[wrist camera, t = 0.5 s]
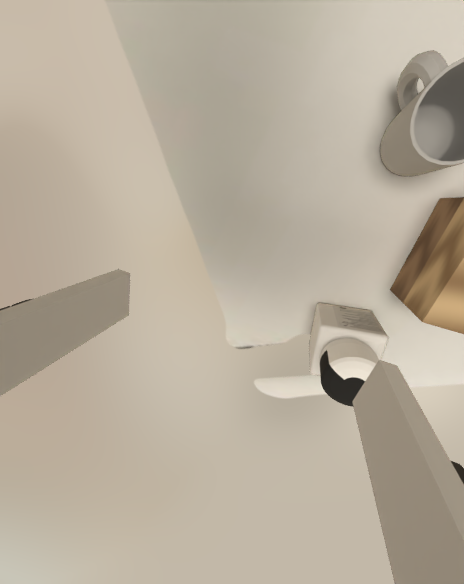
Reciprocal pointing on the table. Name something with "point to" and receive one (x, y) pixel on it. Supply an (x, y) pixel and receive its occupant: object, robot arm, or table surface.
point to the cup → (427, 118)
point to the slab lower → (425, 245)
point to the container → (344, 349)
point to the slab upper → (442, 280)
